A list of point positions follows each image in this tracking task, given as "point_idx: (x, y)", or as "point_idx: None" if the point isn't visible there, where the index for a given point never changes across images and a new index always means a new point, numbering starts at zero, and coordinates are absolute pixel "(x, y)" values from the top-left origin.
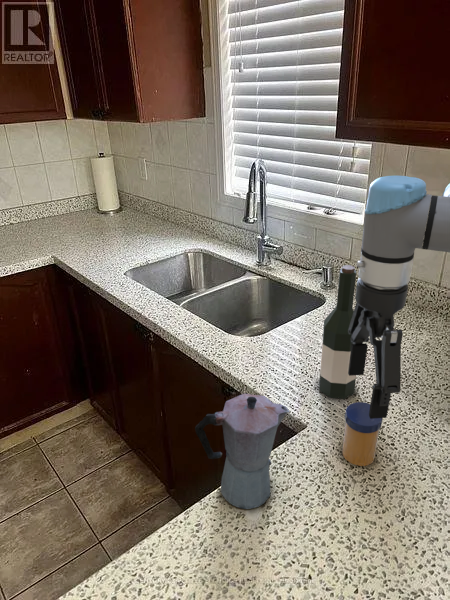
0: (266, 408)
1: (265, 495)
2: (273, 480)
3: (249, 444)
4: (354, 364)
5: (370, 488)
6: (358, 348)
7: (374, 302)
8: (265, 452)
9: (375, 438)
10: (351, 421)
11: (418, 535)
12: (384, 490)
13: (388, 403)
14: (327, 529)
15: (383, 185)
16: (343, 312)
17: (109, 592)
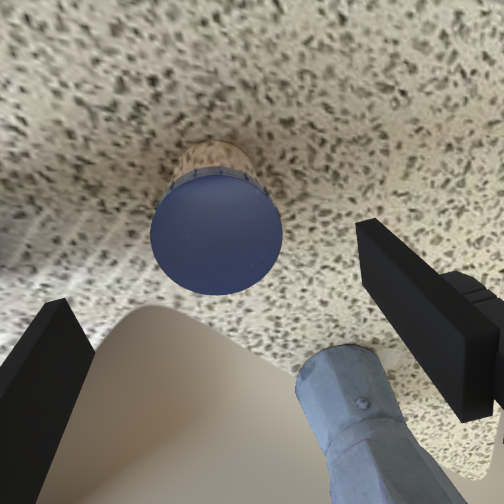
0: None
1: (369, 358)
2: (316, 343)
3: None
4: (65, 387)
5: (321, 160)
6: (11, 487)
7: None
8: (433, 465)
9: (251, 174)
10: (261, 276)
11: (446, 60)
12: (325, 126)
13: (476, 281)
14: (422, 248)
15: None
16: None
17: (487, 466)
